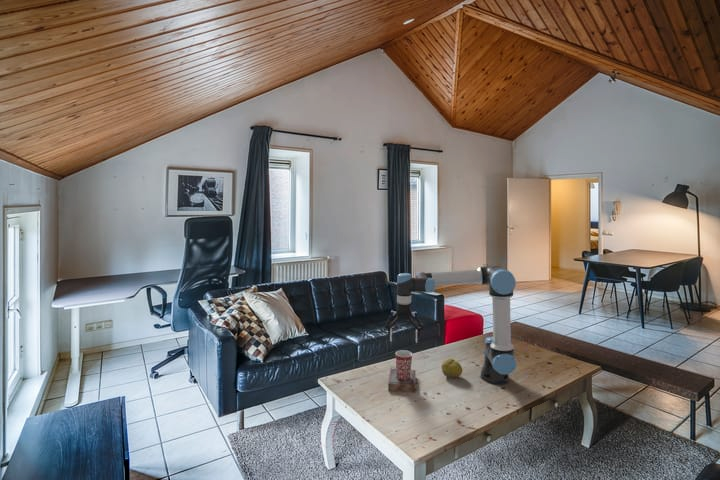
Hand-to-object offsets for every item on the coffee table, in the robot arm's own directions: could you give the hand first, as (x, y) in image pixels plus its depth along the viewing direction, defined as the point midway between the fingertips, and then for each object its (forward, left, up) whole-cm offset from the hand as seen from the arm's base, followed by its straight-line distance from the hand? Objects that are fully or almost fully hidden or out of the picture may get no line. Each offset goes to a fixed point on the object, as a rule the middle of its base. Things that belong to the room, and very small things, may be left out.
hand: (403, 341), depth 206 cm
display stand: (0, 0, -24) cm, 24 cm away
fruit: (-27, -12, -24) cm, 38 cm away
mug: (0, 0, -20) cm, 20 cm away
